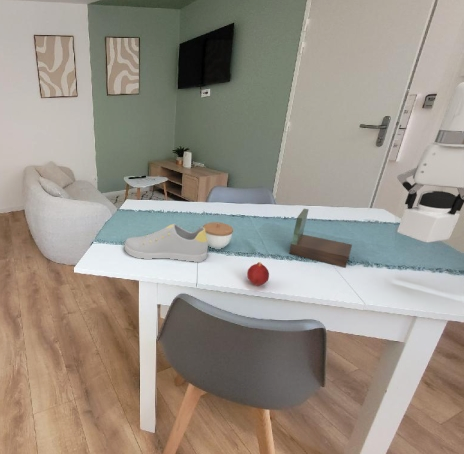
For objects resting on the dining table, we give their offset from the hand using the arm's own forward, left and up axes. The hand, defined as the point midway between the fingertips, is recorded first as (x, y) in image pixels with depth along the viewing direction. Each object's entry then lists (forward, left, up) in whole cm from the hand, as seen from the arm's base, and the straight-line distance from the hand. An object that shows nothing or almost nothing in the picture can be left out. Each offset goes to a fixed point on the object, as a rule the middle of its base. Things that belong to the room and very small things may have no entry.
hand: (430, 209), depth 75 cm
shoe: (+63, +24, -24) cm, 72 cm away
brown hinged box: (+20, -9, -24) cm, 32 cm away
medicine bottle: (-1, 0, -8) cm, 8 cm away
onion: (+31, +24, -24) cm, 46 cm away
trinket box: (+51, +6, -24) cm, 57 cm away
